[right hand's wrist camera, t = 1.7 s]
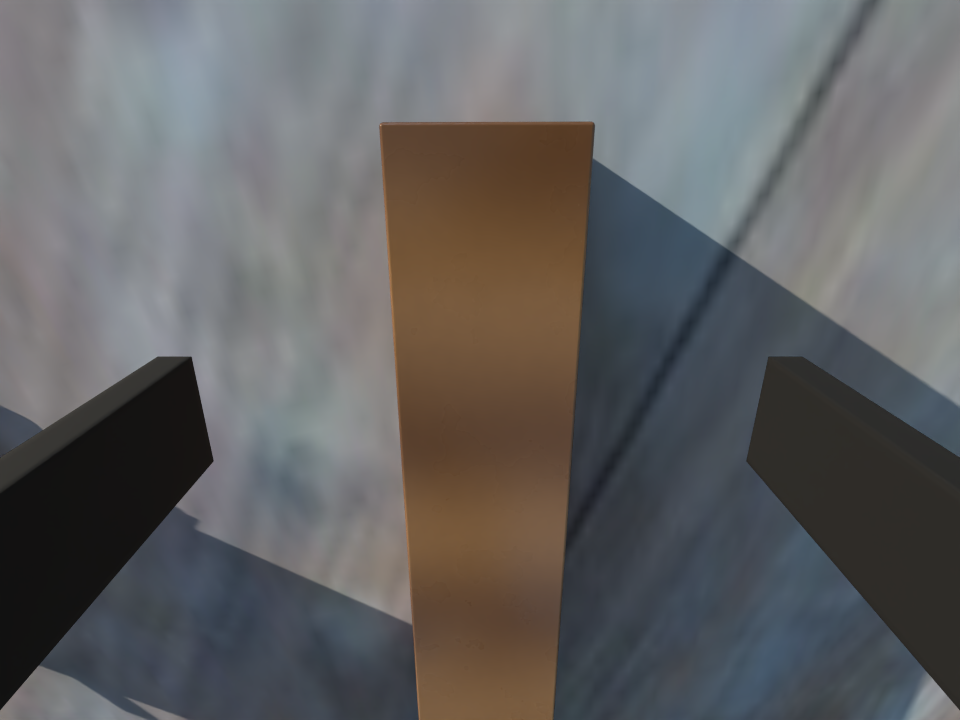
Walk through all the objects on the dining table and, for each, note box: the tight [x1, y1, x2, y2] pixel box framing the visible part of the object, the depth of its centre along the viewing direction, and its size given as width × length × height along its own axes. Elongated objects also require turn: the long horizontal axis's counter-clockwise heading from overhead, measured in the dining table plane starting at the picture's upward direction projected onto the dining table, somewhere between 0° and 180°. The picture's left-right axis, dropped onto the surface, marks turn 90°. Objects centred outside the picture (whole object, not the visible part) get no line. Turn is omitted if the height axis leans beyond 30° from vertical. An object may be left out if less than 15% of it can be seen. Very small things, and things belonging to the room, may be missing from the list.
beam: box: [379, 122, 595, 720], centre depth 27 cm, size 53×6×8 cm, turn 0°
